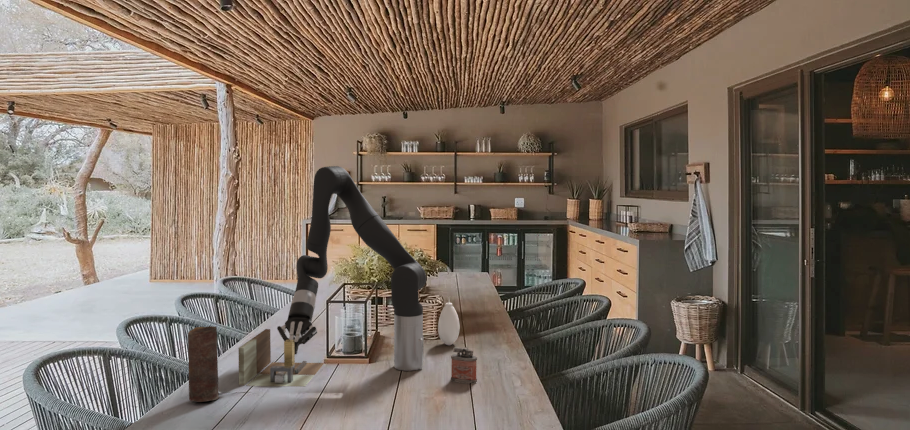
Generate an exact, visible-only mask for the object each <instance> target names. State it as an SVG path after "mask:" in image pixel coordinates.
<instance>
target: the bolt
mask: <svg viewBox="0 0 910 430" xmlns="http://www.w3.org/2000/svg"><path fill="white" fill-rule="evenodd" d="M283 347H284V348H283V360H284V361H283V362H284V366H293V372H294V371H295V363H296V362H295V361H296V359H295V356H296V354H295V349H294V340H286V341H284V340H283ZM287 379H288V378H287V372H278V373H277V374H276V375H275V383H284V382H285V381H286V380H287Z"/></svg>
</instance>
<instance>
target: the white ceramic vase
mask: <svg viewBox="0 0 910 430" xmlns="http://www.w3.org/2000/svg"><path fill="white" fill-rule="evenodd" d="M438 318H439V319H438V325H437V331H438V337H439V339H440V341H441V342H442V343H443V344H444V345H446V346H451V345H453V344H454V343H455V342H457V340H458V338H459V334H460V330H461V329H460V319H459V315H458V313H457V311H456V308H455V307H454V305H453V303H452V302H451V300H450V297H448V301H447V302H446V303H445V305H444V306H443V308H442V310H441V313H440V316H439V317H438Z"/></svg>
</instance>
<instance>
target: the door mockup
mask: <svg viewBox="0 0 910 430" xmlns="http://www.w3.org/2000/svg"><path fill="white" fill-rule="evenodd" d="M271 345H272V344H271V328H265V329H263V330H262V331H261V332H260V333H258V334H257V335H255V336H253V337H252V338H251V339H249V340H248V341H246V342H245V343H244V344H242V345H241V346H239V347H238V385H239V387H240V386H242V387H243V386H249V387H307V385H308V383H310V381H311V380H312V379H313V378H314V376H315V375H316V374H317V373H318V372H319V370H320V369H321V368H322V367H323V366H324V364H325V362H306V366H305V367H304V368H303V369H302V370H301V371H300V372H299V373H298V374H295V371H294V372H293V381H292V382H291V383H288V379H287V380H286V381H285V382H284V383H275V382H270V368H271V367H272V366H284V361H283V362H282V361H281V362H278V361H277V362H274V361H273V362H271V360H272V359H271V357H272V356H271V352H272V351H271V347H272V346H271ZM301 363H302V362H295V369H296V368H297V367H298V366H299V365H300V364H301ZM277 373H278V372H277V371H276V374H277Z"/></svg>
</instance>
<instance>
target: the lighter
mask: <svg viewBox="0 0 910 430" xmlns="http://www.w3.org/2000/svg"><path fill="white" fill-rule="evenodd" d="M452 352H453V354H451V355H450V359H451V376H450V381H451V380H452V381H451V382H454V381H456V382H455V383H460V382H462V384H470V383H474V384H476V382H477V383H478V379H477V361H478V357H477V356H476V355H475V356H474V349H471V348H470V349H469V348H468V347H466V346H465V347H464V348H462V347H453V348H452ZM455 353H456V354H455Z"/></svg>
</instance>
